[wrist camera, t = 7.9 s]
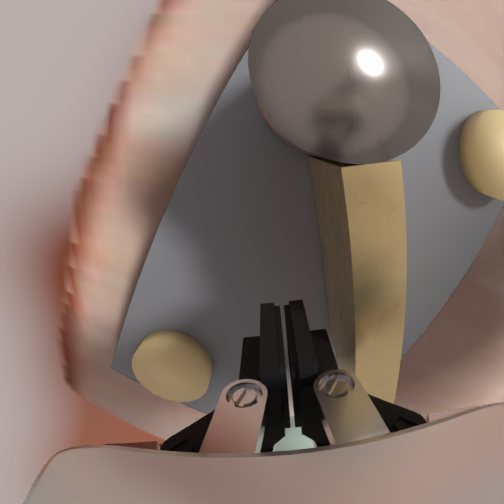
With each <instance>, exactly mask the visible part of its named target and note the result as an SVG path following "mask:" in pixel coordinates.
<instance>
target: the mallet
mask: <svg viewBox="0 0 504 504" xmlns="http://www.w3.org/2000/svg"><path fill="white" fill-rule="evenodd" d="M248 69H249V76H250V80H251V84H252V87H253V90H254V93H255V96H256V99H257V102H258V105H259V108H260V111H261V113H262V116H263V119H264V121H265V124H266V125H267V127H268V129H269V130H270V131H271V133H272V134H273V135H274V136H275V137H276V138H277V139H278V140H279V141H280V142H282V143H283V144H284V145H286V146H288V147H289V148H291V149H294V150H296V151H299V152H302V153H306V154H310V155H314V156H308V162H309V167H310V173H311V179H312V185H313V191H314V198H315V204H316V211H317V218H318V225H319V232H320V239H321V247H322V255H323V264H324V272H325V281H326V291H327V301H328V312H329V323H330V336H331V340H332V344H333V348H334V352H335V356H336V360H337V364H338V368H339V370H346V371H350V372H351V373H353V374H355V375H356V376H357V378H358V379H359V380H360V382H361V384H362V385H363V387H364V389H365V390H366V392H367V394H369V395H372V396H374V397H377V398H379V399H382V400H384V401H387V402H390V403H392V404H394V401H395V396H396V390H397V383H398V377H399V370H400V362H401V354H402V345H403V334H404V322H405V307H406V284H407V236H406V213H405V198H404V186H403V176H402V167H401V161H400V160H394V159H393V158H396V157H398V156H399V155H401V154H403V153H405V152H407V151H408V150H410V149H411V148H412V147H414V146H415V145H416V144H417V143H418V142H419V141H420V140H421V139H422V138H423V137H424V135H425V134H426V133H427V132H428V130H429V128H430V127H431V125H432V123H433V121H434V119H435V116H436V113H437V111H438V106H439V101H440V90H441V87H440V75H439V70H438V65H437V62H436V59H435V56H434V54H433V51H432V49H431V47H430V45H429V43H428V41H427V40H426V38H425V37H424V35H423V33H422V32H421V31H420V29H419V28H418V27H417V26H416V24H415V23H414V22H413V21H412V20H411V19H410V18H409V17H408V16H407V15H406V14H405V13H403V12H402V11H401V10H400V9H399V8H397V7H396V6H395V5H393V4H392V3H390V2H389V1H387V0H278V1H276V2H275V3H274V4H273V5H272V6H271V7H270V8H269V9H268V10H267V11H266V12H265V13H264V14H263V15H262V17H261V18H260V20H259V21H258V23H257V25H256V27H255V29H254V31H253V34H252V37H251V40H250V44H249V50H248Z"/></svg>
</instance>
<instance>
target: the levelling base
mask: <svg viewBox="0 0 504 504" xmlns="http://www.w3.org/2000/svg"><path fill="white" fill-rule="evenodd" d="M428 43H429V42H428ZM429 45H430V47H431V49H432V51H433V54H434V56H435V59H436V62H437V65H438V70H439V75H440V87H441V90H440V101H439V106H438V111H437V113H436V116H435V119H434V121H433V123H432V125H431V127H430V128H429V130H428V132H427V133H426V134H425V135H424V137H423V138H422V139H421V140H420V141H419V142H418V143H417V144H416V145H415V146H414V147H412V148H411V149H410V150H408V151H407V152H405V153H403V154H401V155H399V156H398V157H396V158H393V159H394V160H400V161H401V167H402V176H403V186H404V198H405V213H406V236H407V284H406V307H405V322H404V334H403V345H402V354H401V358H402V357H403V356H404V355H405V353H406V352H407V351H408V350H409V349H410V348H411V346H412V345H413V344H414V343H415V342H416V340H417V339H418V338H419V337H420V336H421V334H422V333H423V332H424V331H425V329H426V328H427V327H428V326H429V324H430V323H431V322H432V320H433V319H434V318H435V317H436V315H437V314H438V313H439V311H440V310H441V309H442V307H443V306H444V304H445V303H446V302H447V300H448V299H449V297H450V296H451V295H452V293H453V292H454V290H455V289H456V287H457V286H458V284H459V283H460V281H461V280H462V278H463V277H464V275H465V274H466V272H467V271H468V269H469V267H470V266H471V264H472V263H473V261H474V259H475V258H476V256H477V254H478V253H479V251H480V249H481V248H482V246H483V244H484V242H485V241H486V239H487V237H488V235H489V233H490V232H491V230H492V228H493V226H494V224H495V222H496V220H497V218H498V216H499V214H500V212H501V210H502V208H503V206H504V111H503V110H500V109H499V108H498V107H497V106H496V105H495V104H494V103H493V101H492V100H491V99H490V98H489V97H488V96H487V95H486V94H485V93H484V92H483V91H482V90H481V89H480V88H479V87H478V86H477V85H476V84H475V83H474V82H473V81H472V80H471V79H470V78H469V77H468V76H467V75H466V74H465V73H464V72H463V71H462V70H461V69H460V68H459V67H457V66H456V65H455V64H454V63H453V62H452V61H451V60H449V59H448V58H447V57H446V56H445V55H444V54H442V53H441V52H440V51H439V50H438V49H436V48H435V47H434V46H433V45H431V44H430V43H429ZM248 50H249V48H248V49H247V51H246V53H245V54H244V56H243V58H242V59H241V61H240V63H239V64H238V66H237V68H236V70H235V71H234V73H233V75H232V77H231V78H230V80H229V82H228V84H227V85H226V87H225V89H224V91H223V93H222V94H221V96H220V98H219V100H218V102H217V104H216V105H215V107H214V109H213V111H212V113H211V115H210V117H209V119H208V121H207V123H206V125H205V126H204V128H203V130H202V132H201V134H200V136H199V138H198V140H197V142H196V144H195V147H194V149H193V151H192V153H191V155H190V157H189V159H188V161H187V163H186V165H185V168H184V170H183V172H182V174H181V176H180V178H179V181H178V183H177V185H176V187H175V190H174V192H173V194H172V196H171V199H170V201H169V203H168V206H167V208H166V210H165V213H164V215H163V218H162V220H161V222H160V225H159V227H158V230H157V232H156V235H155V237H154V240H153V242H152V245H151V248H150V250H149V253H148V255H147V258H146V261H145V263H144V266H143V269H142V272H141V274H140V277H139V280H138V283H137V286H136V289H135V291H134V294H133V297H132V300H131V303H130V306H129V309H128V312H127V315H126V319H125V322H124V325H123V328H122V331H121V335H120V338H119V341H118V345H117V348H116V352H115V355H114V359H113V362H112V366H111V368H112V369H114V370H116V371H117V372H119V373H121V374H123V375H125V376H126V377H128V378H130V379H132V380H134V381H136V382H138V383H140V384H142V386H144V387H145V388H146V389H147V390H148V391H150V392H151V393H153V394H154V395H156V396H158V397H161V398H163V399H166V400H169V401H174V402H180V403H182V404H184V405H186V406H189V407H191V408H193V409H196V410H198V411H201V412H203V413H206V414H209V413H210V412H212V411H213V410H215V409H216V406H217V404H218V401H219V398H220V396H221V393H222V391H223V390H224V388H225V387H226V386H228V385H229V384H230V383H232V382H234V381H237V380H239V373H240V363H241V354H242V344H243V338H244V337H254V336H260V304H264V303H273V302H274V305H275V306H279V305H280V311H281V321H282V332H283V342H284V353H285V364H286V375H287V387H288V399H289V412H290V425H291V428H285V437H283V438H282V439H281V440H280V441H279V442H277V443H276V450H278V451H288V450H298V449H307V448H314V446H313V440H312V439H310V438H308V437H306V436H305V435H302V431H301V427H296V428H295V420H294V409H293V398H292V388H291V378H290V368H289V358H288V346H287V335H286V324H285V313H284V305H288V304H289V301H292V300H301V299H302V300H303V303H304V307H305V312H306V316H307V320H308V324H309V328H310V331H311V330H318V329H326V330H327V333H328V336H329V340H330V343H331V346H332V349H333V352H334V348H333V344H332V340H331V336H330V323H329V312H328V301H327V291H326V281H325V272H324V264H323V255H322V247H321V239H320V232H319V225H318V218H317V211H316V204H315V198H314V191H313V185H312V179H311V173H310V167H309V162H308V156H314V155H310V154H306V153H302V152H299V151H296V150H294V149H291V148H289V147H288V146H286V145H284V144H283V143H282V142H280V141H279V140H278V139H277V138H276V137H275V136H274V135H273V134H272V133H271V131H270V130H269V129H268V127H267V125H266V124H265V121H264V119H263V116H262V113H261V111H260V108H259V105H258V102H257V99H256V96H255V93H254V90H253V87H252V84H251V80H250V76H249V69H248ZM334 356H335V352H334ZM335 359H336V356H335ZM336 362H337V360H336ZM337 366H338V364H337ZM338 369H339V368H338Z"/></svg>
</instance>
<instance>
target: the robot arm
mask: <svg viewBox="0 0 504 504" xmlns="http://www.w3.org/2000/svg"><path fill="white" fill-rule="evenodd" d="M284 313H285V324H286V335H287V346H288V358H289V368H290V378H291V388H292V398H293V409H294V420H295V428H296V427H301V431H302V435H305V436H306V437H308V438H310V439H312V440H313V446H314V448H307V449H298V450H288V451H276V443H277V442H279V441H280V440H281V439H282V438H283V437H285V428H291V425H290V412H289V399H288V387H287V375H286V364H285V353H284V342H283V332H282V321H281V311H280V305H279V306H275V305H274V302H273V303H264V304H260V336H254V337H244V338H243V344H242V354H241V363H240V373H239V380H237V381H234V382H232V383H230V384H229V385H228V386H226V387H225V388H224V390H223V391H222V393H221V396H220V398H219V401H218V404H217V406H216V409H215V410H213V411H212V412H210V413H209V414H207V415H206V416H204V417H202V418H201V419H199V420H198V421H196V422H195V423H193V424H191V425H190V426H188V427H186V428H185V429H183V430H182V431H180V432H178V433H177V434H175V435H173V436H171V437H170V438H169V439H167V440H166V441H165V442H164V443H162V444H158V442H157V441H151V442H137V443H118V444H105V445H85V446H78V447H71V448H68V449H64V450H61V451H59V452H57V453H56V454H55V455H53V456H52V457H51V458H50V459H49V460H48V461H47V463H46V464H45V465H44V467H43V468H42V470H41V471H40V473H39V475H38V476H37V478H36V480H35V481H34V483H33V485H32V487H31V489H30V491H29V493H28V495H27V497H26V499H25V501H24V503H23V504H504V402H502V403H493V404H487V405H482V406H473V407H467V408H461V409H455V410H448V411H441V412H433V413H428V415H427V416H424V417H422V416H421V415H420V414H418V413H416V412H414V411H411V410H408V409H405V408H403V407H400V406H397V405H395V404H392V403H390V402H387V401H384V400H382V399H379V398H377V397H374V396H372V395H369V394H367V392H366V390H365V389H364V387H363V385H362V384H361V382H360V380H359V379H358V378H357V376H356V375H355V374H353V373H351V372H350V371H346V370H339V369H338V366H337V362H336V359H335V356H334V352H333V349H332V346H331V343H330V340H329V336H328V333H327V330H326V329H318V330H311V331H310V328H309V324H308V320H307V316H306V312H305V307H304V303H303V300H302V299H301V300H292V301H289V304H288V305H284ZM275 451H276V452H275Z"/></svg>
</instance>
